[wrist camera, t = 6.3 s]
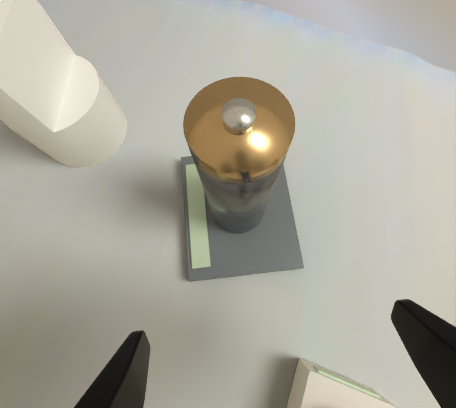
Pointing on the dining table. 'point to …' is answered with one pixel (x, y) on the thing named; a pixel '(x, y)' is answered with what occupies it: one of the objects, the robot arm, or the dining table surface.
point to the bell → (238, 147)
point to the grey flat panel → (238, 243)
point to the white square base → (330, 390)
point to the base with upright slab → (54, 90)
